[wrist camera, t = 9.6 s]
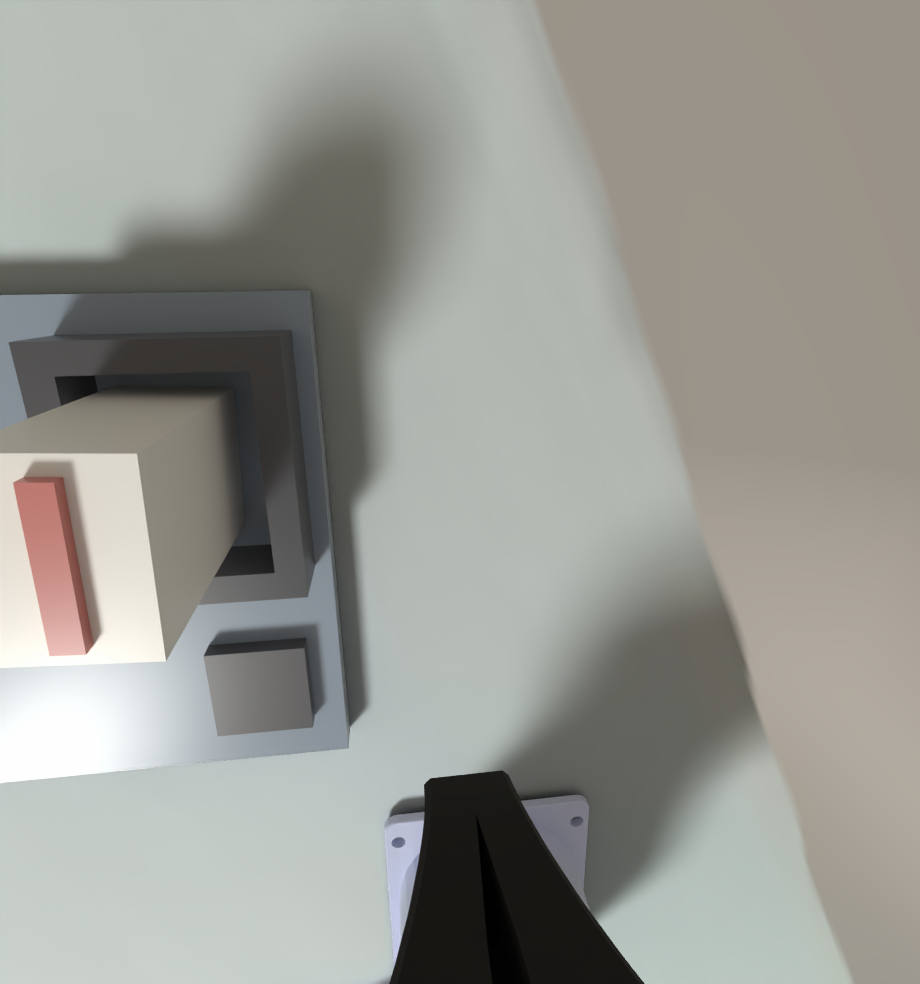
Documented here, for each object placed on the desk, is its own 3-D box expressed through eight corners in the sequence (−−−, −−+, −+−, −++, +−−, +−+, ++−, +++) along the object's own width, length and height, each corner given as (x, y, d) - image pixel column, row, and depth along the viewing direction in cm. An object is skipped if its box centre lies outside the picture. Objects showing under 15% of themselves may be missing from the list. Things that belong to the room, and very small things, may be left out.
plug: (245, 522, 18) (160, 671, 11) (137, 523, 17) (-21, 678, 11) (233, 386, 17) (130, 458, 10) (117, 384, 16) (-77, 458, 9)
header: (315, 565, 19) (307, 597, 17) (108, 579, 18) (76, 613, 16) (291, 329, 16) (279, 336, 14) (53, 335, 16) (8, 342, 14)
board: (349, 728, 22) (347, 761, 20) (-10, 762, 20) (-40, 800, 19) (311, 290, 17) (304, 290, 15) (-164, 297, 16) (-223, 298, 14)
